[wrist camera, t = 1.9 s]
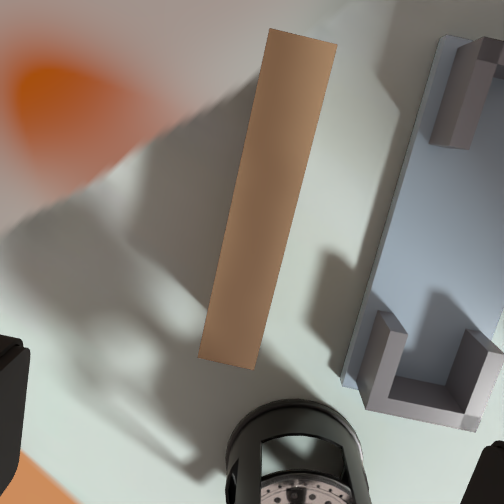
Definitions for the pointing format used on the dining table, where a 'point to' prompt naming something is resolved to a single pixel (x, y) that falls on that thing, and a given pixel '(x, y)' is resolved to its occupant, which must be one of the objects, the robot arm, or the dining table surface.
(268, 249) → the slat
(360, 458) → the french press
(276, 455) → the dining table surface
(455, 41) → the cradle
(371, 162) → the dining table surface
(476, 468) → the robot arm
